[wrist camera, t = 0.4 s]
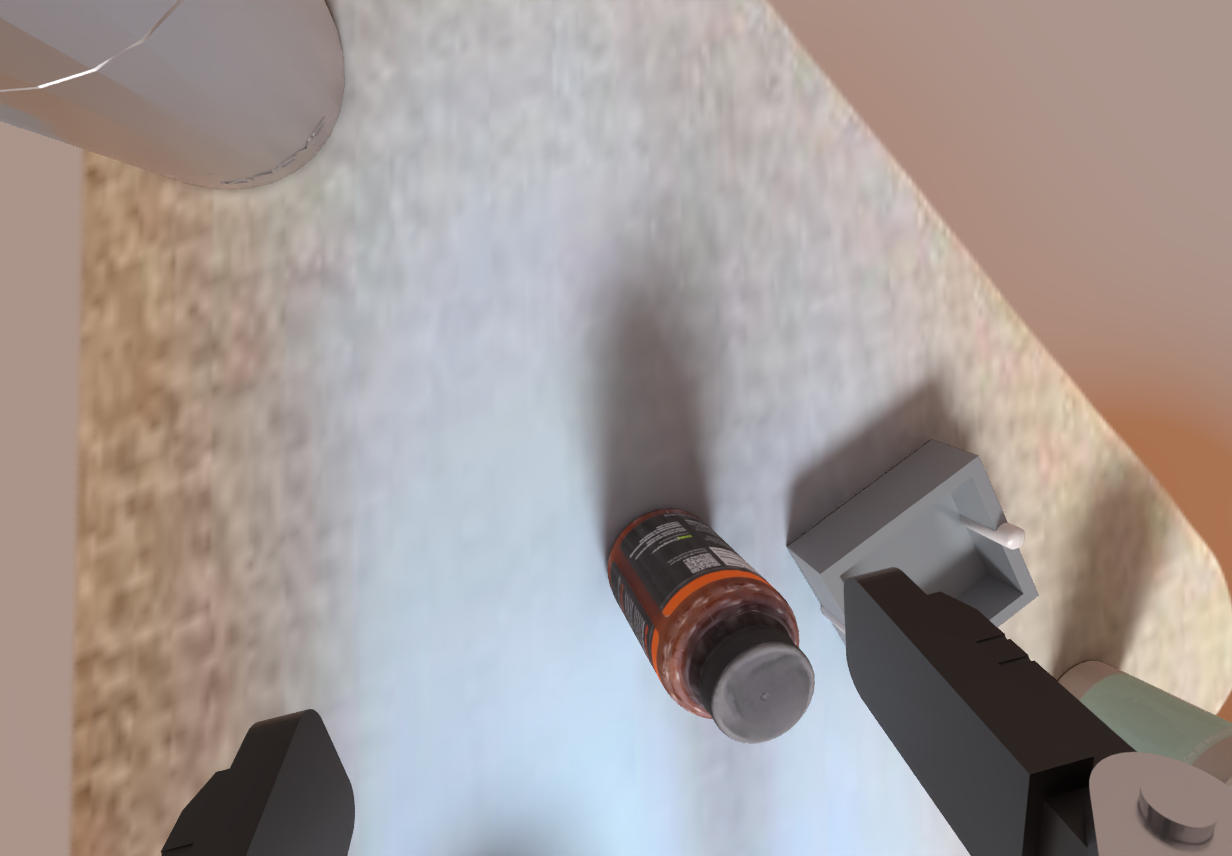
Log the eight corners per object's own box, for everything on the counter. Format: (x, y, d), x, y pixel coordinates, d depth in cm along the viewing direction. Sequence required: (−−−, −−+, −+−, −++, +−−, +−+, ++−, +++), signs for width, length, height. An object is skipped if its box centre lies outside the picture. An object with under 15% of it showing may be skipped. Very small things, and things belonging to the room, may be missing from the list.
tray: (783, 548, 34) (824, 583, 31) (934, 437, 35) (992, 457, 32) (857, 671, 38) (902, 715, 34) (993, 567, 39) (1053, 599, 35)
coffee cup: (1111, 744, 46) (1331, 901, 34) (1016, 758, 43) (1216, 931, 32) (1143, 636, 44) (1386, 764, 32) (1044, 645, 41) (1268, 786, 30)
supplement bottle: (653, 633, 34) (748, 800, 23) (580, 561, 32) (648, 710, 21) (735, 556, 34) (868, 687, 23) (669, 480, 32) (780, 586, 21)
